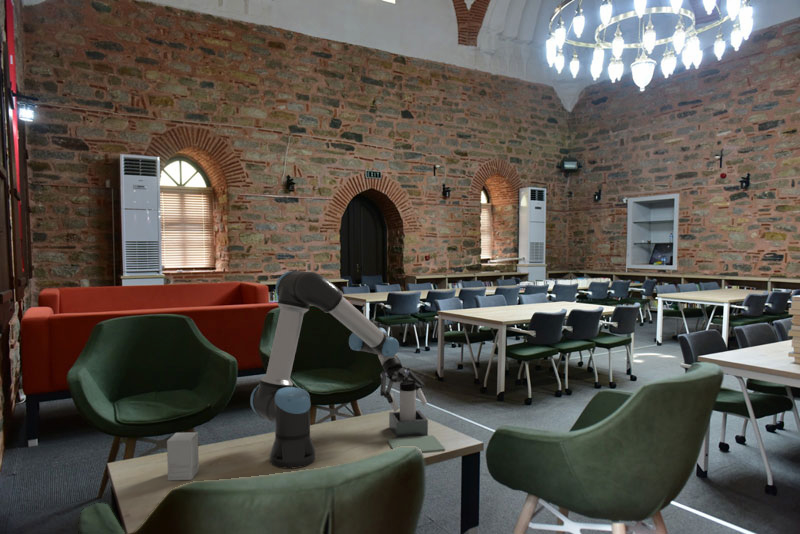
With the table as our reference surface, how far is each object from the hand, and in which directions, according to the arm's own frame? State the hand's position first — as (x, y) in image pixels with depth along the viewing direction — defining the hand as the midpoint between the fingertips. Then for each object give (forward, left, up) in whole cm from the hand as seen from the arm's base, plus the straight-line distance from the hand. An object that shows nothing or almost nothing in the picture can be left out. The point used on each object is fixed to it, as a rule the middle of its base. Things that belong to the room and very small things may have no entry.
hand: (411, 406), depth 204 cm
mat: (-2, -14, -10) cm, 17 cm away
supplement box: (-80, -22, -10) cm, 83 cm away
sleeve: (-1, +1, -10) cm, 10 cm away
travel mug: (-1, +1, -10) cm, 10 cm away
